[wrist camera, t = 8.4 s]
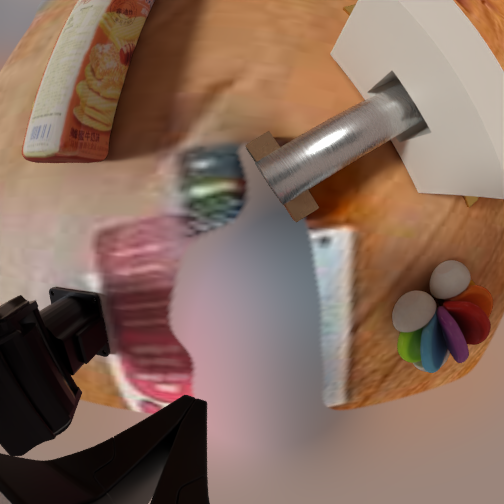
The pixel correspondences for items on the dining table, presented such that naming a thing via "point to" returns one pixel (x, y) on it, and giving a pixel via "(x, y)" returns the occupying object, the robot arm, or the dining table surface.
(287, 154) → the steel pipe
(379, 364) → the dining table surface
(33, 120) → the snack package
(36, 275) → the dining table surface
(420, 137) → the sleeve
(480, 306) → the rainbow petal fan
